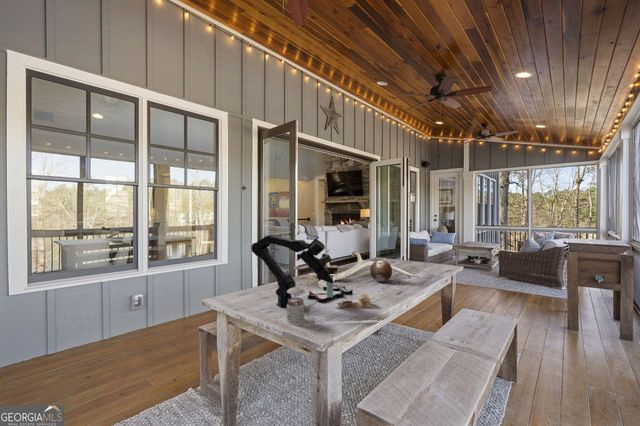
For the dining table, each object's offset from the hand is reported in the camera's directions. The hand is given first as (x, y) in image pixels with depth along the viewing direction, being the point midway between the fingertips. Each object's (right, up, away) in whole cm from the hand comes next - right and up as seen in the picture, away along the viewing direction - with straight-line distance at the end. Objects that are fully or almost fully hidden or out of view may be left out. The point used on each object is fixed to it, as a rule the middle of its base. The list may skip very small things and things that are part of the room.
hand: (332, 281), depth 156 cm
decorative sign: (-1, -14, +21) cm, 25 cm away
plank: (-1, -8, 0) cm, 8 cm away
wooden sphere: (+36, -13, +57) cm, 69 cm away
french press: (-18, -14, -17) cm, 28 cm away
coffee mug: (+3, -13, +61) cm, 62 cm away
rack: (+11, -13, +1) cm, 17 cm away
